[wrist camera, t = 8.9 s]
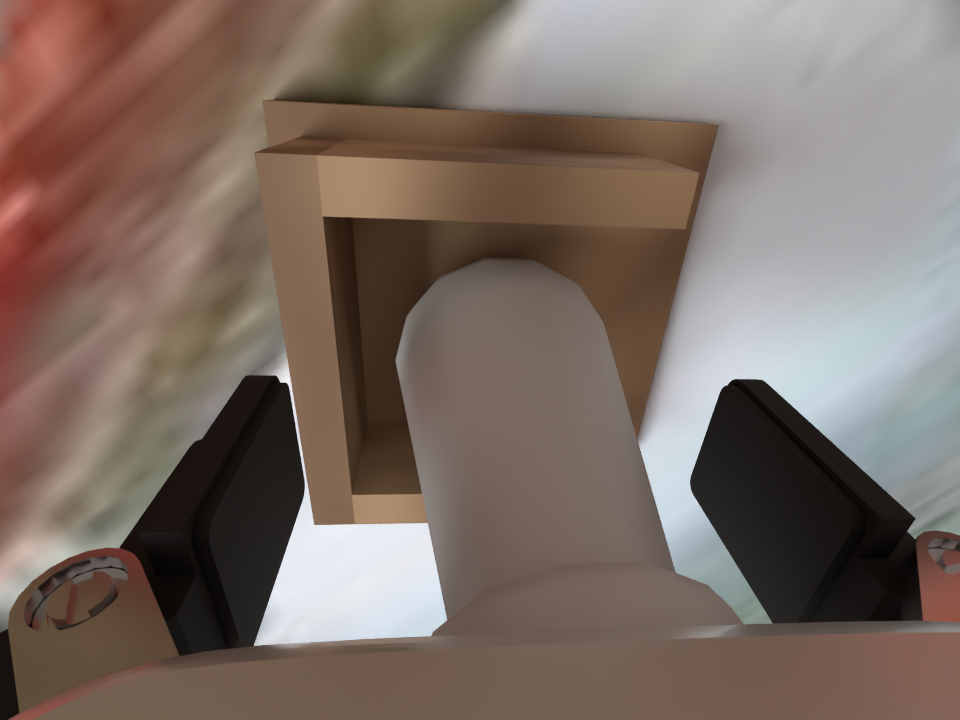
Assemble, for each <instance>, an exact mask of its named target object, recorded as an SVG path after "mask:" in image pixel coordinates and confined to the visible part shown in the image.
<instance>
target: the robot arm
mask: <svg viewBox="0 0 960 720" xmlns="http://www.w3.org/2000/svg"><path fill="white" fill-rule="evenodd" d="M690 485H691V490H692V493H693V495H694V497H695V498H696V500H697V501H698V503H699V505H700V506H701V508H702V509H703V511H704V513H705V514H706V516H707V518H708V519H709V521H710V522H711V524H712V526H713V527H714V529H715V530H716V532H717V534H718V535H719V537H720V539H721V540H722V542H723V543H724V545H725V547H726V548H727V550H728V551H729V553H730V555H731V556H732V558H733V560H734V561H735V563H736V564H737V566H738V568H739V569H740V571H741V572H742V574H743V576H744V577H745V579H746V581H747V582H748V584H749V585H750V587H751V589H752V590H753V592H754V594H755V595H756V597H757V598H758V600H759V602H760V603H761V605H762V606H763V608H764V610H765V611H766V613H767V615H768V616H769V618H770V619H771V621H772V623H773V624H746V625H714V626H684V627H656V628H629V629H601V630H575V631H549V632H522V633H499V634H475V635H452V636H428V637H405V638H382V639H360V640H344V641H327V642H310V643H293V644H277V645H261V646H254V643H255V640H256V637H257V634H258V631H259V628H260V625H261V622H262V619H263V616H264V613H265V610H266V607H267V604H268V601H269V598H270V595H271V592H272V589H273V586H274V583H275V580H276V578H277V575H278V572H279V569H280V566H281V563H282V560H283V557H284V554H285V551H286V548H287V545H288V542H289V539H290V536H291V533H292V530H293V527H294V524H295V521H296V518H297V515H298V512H299V509H300V506H301V503H302V500H303V497H304V489H305V483H304V475H303V469H302V463H301V457H300V451H299V445H298V439H297V433H296V427H295V421H294V415H293V409H292V403H291V397H290V391H289V386H288V384H287V383H280V381H279V379H278V377H277V376H253V375H248V376H245V377H244V378H243V380H242V381H241V383H240V384H239V386H238V387H237V389H236V390H235V392H234V393H233V394H232V396H231V397H230V399H229V400H228V402H227V403H226V405H225V406H224V408H223V409H222V411H221V412H220V414H219V415H218V416H217V418H216V419H215V421H214V422H213V424H212V425H211V427H210V428H209V430H208V431H207V433H206V434H205V436H204V437H203V438H202V440H198V441H195V442H194V443H193V444H192V445H191V447H190V448H189V449H188V451H187V452H186V454H185V455H184V456H183V458H182V459H181V461H180V462H179V464H178V465H177V466H176V468H175V469H174V471H173V472H172V474H171V475H170V476H169V478H168V479H167V481H166V482H165V484H164V485H163V486H162V488H161V489H160V491H159V492H158V494H157V495H156V496H155V498H154V499H153V501H152V502H151V504H150V505H149V506H148V508H147V509H146V511H145V512H144V514H143V515H142V516H141V518H140V519H139V521H138V522H137V524H136V525H135V526H134V528H133V529H132V531H131V532H130V534H129V535H128V536H127V538H126V539H125V541H124V542H123V544H122V545H121V546H120V548H102V549H96V550H90V551H86V552H84V553H81V554H78V555H75V556H73V557H70V558H68V559H66V560H64V561H62V562H60V563H58V564H57V565H55V566H53V567H51V568H49V569H48V570H47V571H45V572H44V573H43V574H41V575H40V576H39V577H37V578H36V579H35V580H33V581H32V582H31V583H30V584H29V585H28V586H27V587H26V589H25V590H24V591H23V592H22V593H21V594H20V595H19V596H18V598H17V599H16V601H15V603H14V605H13V607H12V608H11V610H10V612H9V620H8V629H7V630H5V631H3V632H1V633H0V720H960V536H959V535H956V534H953V533H949V532H942V531H927V532H923V533H922V534H920V535H919V536H918V537H917V538H916V539H914V538H913V537H912V536H911V535H910V534H909V533H908V532H907V530H908V529H909V527H910V526H911V524H912V523H913V521H914V520H915V518H914V517H913V516H912V515H911V514H910V513H909V512H908V511H907V510H906V509H904V508H903V507H902V506H901V505H900V504H899V503H898V502H897V501H896V500H895V499H893V498H892V497H891V496H890V495H889V494H888V493H887V492H886V491H885V490H884V489H882V488H881V487H880V486H879V485H878V484H877V483H876V482H875V481H874V480H873V479H871V478H870V477H869V476H868V475H867V474H866V473H865V472H864V471H863V470H862V469H860V468H859V467H858V466H857V465H856V464H855V463H854V462H853V461H852V460H851V459H849V458H848V457H847V456H846V455H845V454H844V453H843V452H842V451H841V450H840V449H838V448H837V447H836V446H835V445H834V444H833V443H832V442H831V441H830V440H829V439H827V438H826V437H825V436H824V435H823V434H822V433H821V432H820V431H819V430H818V429H816V428H815V427H814V426H813V425H812V424H811V423H810V422H809V421H808V420H807V419H805V418H804V417H803V416H802V415H801V414H800V413H799V412H798V411H797V410H796V409H794V408H793V407H792V406H791V405H790V404H789V403H788V402H787V401H786V400H785V399H783V398H782V397H781V396H780V395H779V394H778V393H777V392H776V391H775V390H774V389H772V388H771V387H770V386H769V385H768V384H767V383H766V382H764V381H763V380H756V379H735V380H732V381H731V382H730V383H729V384H728V386H725V387H723V388H722V390H721V392H720V394H719V397H718V400H717V403H716V406H715V409H714V412H713V415H712V417H711V420H710V423H709V426H708V429H707V432H706V435H705V438H704V441H703V443H702V446H701V449H700V452H699V455H698V458H697V461H696V464H695V467H694V469H693V472H692V475H691V479H690Z"/></svg>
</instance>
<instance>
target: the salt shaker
mask: <svg viewBox="0 0 960 720" xmlns="http://www.w3.org/2000/svg"><path fill="white" fill-rule="evenodd" d="M396 366H397V371H398V376H399V381H400V386H401V391H402V396H403V401H404V406H405V411H406V416H407V421H408V426H409V431H410V436H411V440H412V445H413V450H414V455H415V460H416V465H417V470H418V475H419V480H420V485H421V490H422V495H423V500H424V505H425V510H426V515H427V520H428V525H429V530H430V535H431V540H432V545H433V550H434V555H435V560H436V565H437V570H438V575H439V580H440V585H441V590H442V595H443V600H444V605H445V610H446V615H447V621H446V622H445V623H444V624H442V625H441V626H440V627H439V628H438V629H436V630H435V631H434V632H433V633H432V636H452V635H475V634H499V633H522V632H549V631H575V630H601V629H629V628H656V627H684V626H714V625H744V624H743V622H742V621H741V620H740V619H739V617H738V616H737V615H736V613H735V612H734V611H733V609H732V608H731V607H730V606H729V605H728V604H727V603H726V602H725V601H724V600H723V599H722V598H721V597H720V596H719V595H717V594H716V593H715V592H714V591H713V590H712V589H711V588H710V587H709V586H708V585H706V584H704V583H701V582H698V581H696V580H693V579H690V578H688V577H685V576H682V575H680V574H677V573H675V569H674V566H673V562H672V559H671V555H670V552H669V548H668V545H667V541H666V538H665V534H664V531H663V528H662V524H661V521H660V517H659V514H658V510H657V507H656V503H655V500H654V496H653V493H652V489H651V486H650V482H649V479H648V475H647V472H646V469H645V465H644V462H643V458H642V455H641V451H640V448H639V444H638V441H637V437H636V434H635V430H634V427H633V423H632V420H631V416H630V413H629V410H628V406H627V403H626V399H625V396H624V392H623V389H622V385H621V382H620V378H619V375H618V371H617V368H616V364H615V361H614V357H613V354H612V351H611V347H610V344H609V340H608V337H607V333H606V330H605V326H604V323H603V321H602V320H601V318H600V316H599V315H598V313H597V312H596V310H595V309H594V307H593V306H592V304H591V303H590V301H589V300H588V298H587V296H586V295H585V293H584V292H583V290H582V289H581V287H580V286H579V285H578V284H577V283H575V282H574V281H572V280H570V279H569V278H567V277H565V276H563V275H561V274H559V273H558V272H556V271H554V270H552V269H550V268H548V267H547V266H545V265H543V264H541V263H539V262H537V261H536V260H534V259H519V258H492V257H484V258H482V259H479V260H477V261H475V262H472V263H470V264H468V265H465V266H463V267H461V268H458V269H456V270H453V271H451V272H449V273H446V274H444V275H442V276H440V277H439V278H438V279H437V280H436V281H435V282H434V284H433V285H432V286H431V287H430V288H429V289H428V291H427V292H426V293H425V294H424V295H423V296H422V298H421V299H420V300H419V301H418V302H417V303H416V305H415V306H414V307H413V308H412V309H411V310H410V312H409V314H408V315H407V317H406V321H405V325H404V329H403V333H402V337H401V341H400V345H399V349H398V353H397V357H396Z"/></svg>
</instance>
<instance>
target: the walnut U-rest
mask: <svg viewBox="0 0 960 720" xmlns="http://www.w3.org/2000/svg"><path fill="white" fill-rule="evenodd" d="M263 107H264V114H265V121H266V128H267V135H268V141H269V148H266V149H263V150H260V151H257V152H255V153H254V154H255V160H256V166H257V172H258V178H259V185H260V191H261V197H262V203H263V209H264V216H265V222H266V228H267V234H268V240H269V247H270V253H271V259H272V265H273V271H274V278H275V284H276V290H277V296H278V302H279V309H280V315H281V321H282V327H283V333H284V340H285V346H286V352H287V358H288V364H289V371H290V377H291V383H292V389H293V395H294V402H295V408H296V414H297V420H298V426H299V433H300V439H301V445H302V451H303V457H304V464H305V470H306V476H307V482H308V488H309V494H310V501H311V507H312V513H313V519H314V525H335V524H392V523H428V520H427V515H426V510H425V505H424V500H423V495H422V490H421V485H420V480H419V475H418V470H417V465H416V460H415V455H414V450H413V445H412V440H411V436H410V431H409V426H408V421H407V416H406V411H405V406H404V401H403V396H402V391H401V386H400V381H399V376H398V371H397V366H396V357H397V353H398V349H399V345H400V341H401V337H402V333H403V329H404V325H405V321H406V317H407V315H408V314H409V312H410V310H411V309H412V308H413V307H414V306H415V305H416V303H417V302H418V301H419V300H420V299H421V298H422V296H423V295H424V294H425V293H426V292H427V291H428V289H429V288H430V287H431V286H432V285H433V284H434V282H435V281H436V280H437V279H438V278H439V277H440V276H442V275H444V274H446V273H449V272H451V271H453V270H456V269H458V268H461V267H463V266H465V265H468V264H470V263H472V262H475V261H477V260H479V259H482V258H484V257H492V258H519V259H534V260H536V261H537V262H539V263H541V264H543V265H545V266H547V267H548V268H550V269H552V270H554V271H556V272H558V273H559V274H561V275H563V276H565V277H567V278H569V279H570V280H572V281H574V282H575V283H577V284H578V285H579V286H580V287H581V289H582V290H583V292H584V293H585V295H586V296H587V298H588V300H589V301H590V303H591V304H592V306H593V307H594V309H595V310H596V312H597V313H598V315H599V316H600V318H601V320H602V321H603V323H604V326H605V330H606V333H607V337H608V340H609V344H610V347H611V351H612V354H613V357H614V361H615V364H616V368H617V371H618V375H619V378H620V382H621V385H622V389H623V392H624V396H625V399H626V403H627V406H628V410H629V413H630V416H631V420H632V423H633V427H634V430H635V434H636V437H637V436H638V432H639V428H640V424H641V420H642V417H643V413H644V409H645V405H646V401H647V397H648V394H649V390H650V386H651V382H652V378H653V374H654V371H655V367H656V363H657V359H658V355H659V351H660V348H661V344H662V340H663V336H664V332H665V328H666V325H667V321H668V317H669V313H670V309H671V306H672V302H673V298H674V294H675V290H676V286H677V283H678V279H679V275H680V271H681V267H682V263H683V260H684V256H685V252H686V248H687V244H688V240H689V237H690V233H691V229H692V225H693V221H694V217H695V214H696V210H697V206H698V202H699V198H700V194H701V191H702V187H703V183H704V179H705V175H706V171H707V168H708V164H709V160H710V156H711V152H712V148H713V145H714V141H715V137H716V133H717V129H718V125H713V124H705V123H688V122H669V121H651V120H633V119H614V118H596V117H578V116H559V115H541V114H523V113H504V112H486V111H468V110H450V109H431V108H413V107H395V106H376V105H358V104H340V103H321V102H303V101H285V100H263Z"/></svg>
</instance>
